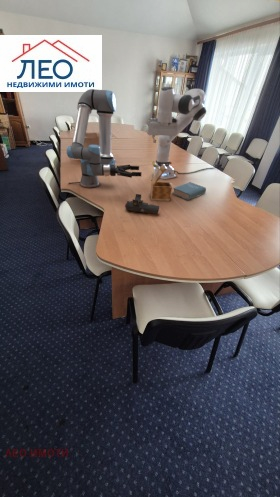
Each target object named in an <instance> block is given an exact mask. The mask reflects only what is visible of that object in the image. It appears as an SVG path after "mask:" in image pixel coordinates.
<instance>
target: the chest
mask: <svg viewBox="0 0 280 497" xmlns="http://www.w3.org/2000/svg"><path fill="white" fill-rule="evenodd" d="M172 190H173V186H172V183H171V182H170V181H157V183H156V184H155V185H154V186H153V185H152V182H151V184H150V193H149V196H150V200H151V201H163V202H164V201H165V202H166V201H167V202H170V201H171V196H172Z"/></svg>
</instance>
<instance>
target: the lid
mask: <svg viewBox="0 0 280 497" xmlns="http://www.w3.org/2000/svg"><path fill="white" fill-rule="evenodd" d="M151 163H152V166H153V168H155V167H156V168H158V169H159V170H158V171H157V173H156V174H155V176H153V177H152V178H151V179H150V181H151V182H152V185H153V186H154V185H155V184H156V183H157V182H159V180H160V179H161V178H160V177H161V176H162V175H163V173H164V172H165V171H166V169H167V168H166V166H165V165H164V164H163V165H162V166H161V167H160V166H158V165H157V164H156V161H152V162H151ZM157 166H158V167H157Z"/></svg>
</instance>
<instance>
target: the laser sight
mask: <svg viewBox="0 0 280 497" xmlns="http://www.w3.org/2000/svg"><path fill="white" fill-rule="evenodd" d="M124 207H125V210H127V211H130V212H134V213H140V214H141V213H142V214H153V215H159V211H160V205H156V204H149V203H148V202H144V199H142V194H141V193H140V194H139V193H135V197H134V198H133V199H132V200H127V201H126V202H125V204H124Z"/></svg>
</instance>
